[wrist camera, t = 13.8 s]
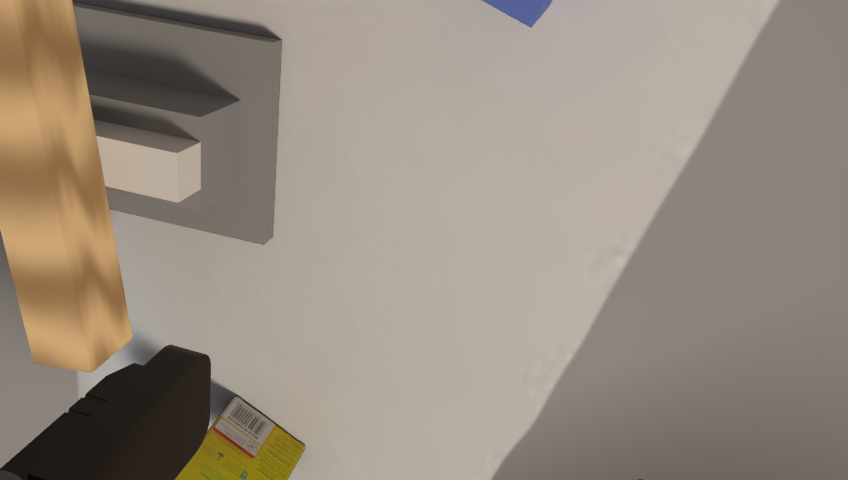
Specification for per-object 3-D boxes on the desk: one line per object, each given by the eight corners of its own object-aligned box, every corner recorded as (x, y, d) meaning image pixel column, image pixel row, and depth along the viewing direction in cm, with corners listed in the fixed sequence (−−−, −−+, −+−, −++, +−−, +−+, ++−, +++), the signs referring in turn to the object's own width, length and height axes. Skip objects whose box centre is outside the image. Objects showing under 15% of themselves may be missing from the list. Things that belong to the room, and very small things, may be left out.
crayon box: (220, 414, 57) (136, 517, 47) (236, 393, 56) (154, 495, 46) (290, 466, 58) (223, 580, 47) (308, 446, 56) (242, 559, 46)
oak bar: (132, 338, 44) (91, 372, 40) (78, 330, 45) (33, 363, 41) (59, -68, 35) (-3, -70, 31) (-7, -69, 35) (-75, -71, 32)
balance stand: (35, -6, 46) (-84, 4, 38) (281, 39, 43) (210, 60, 35) (54, 186, 52) (-46, 229, 44) (272, 236, 49) (209, 293, 41)
